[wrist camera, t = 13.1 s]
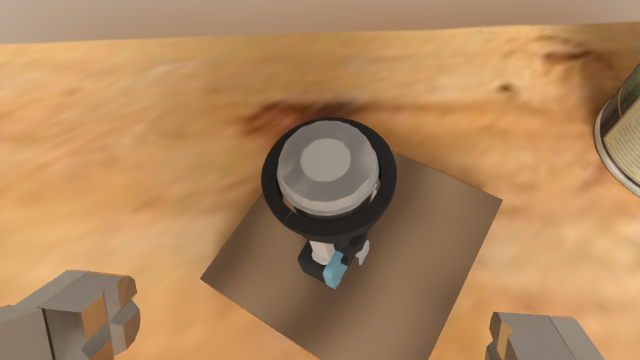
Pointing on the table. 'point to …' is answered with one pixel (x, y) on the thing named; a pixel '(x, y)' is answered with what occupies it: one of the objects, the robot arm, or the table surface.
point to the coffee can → (622, 133)
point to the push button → (330, 191)
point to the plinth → (364, 271)
